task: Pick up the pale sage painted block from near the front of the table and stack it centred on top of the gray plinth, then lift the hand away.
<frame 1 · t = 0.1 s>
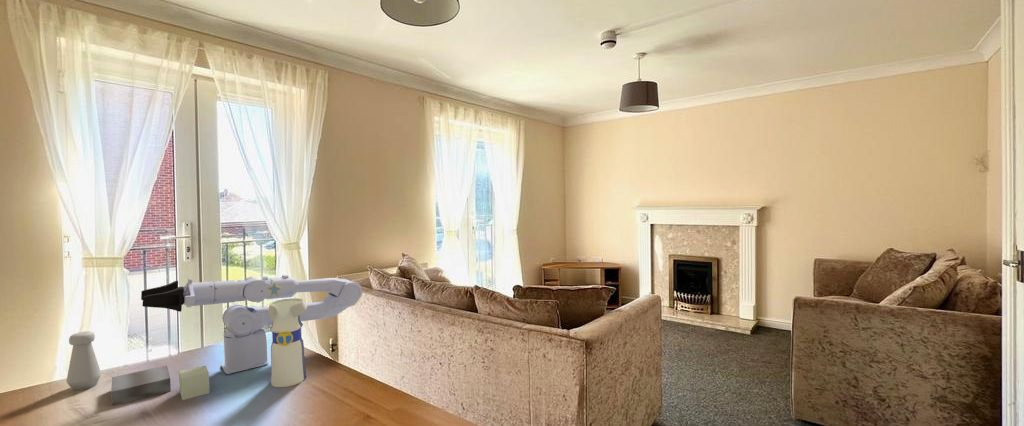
hand: (141, 298, 99), 22 cm above the table, tool horizontal, fingers open, 7 cm apart
salt shaker: (84, 387, 102), on the table
cream belted dress: (289, 380, 105), on the table
gray plinth: (141, 390, 100), on the table
sage block: (194, 393, 99), on the table
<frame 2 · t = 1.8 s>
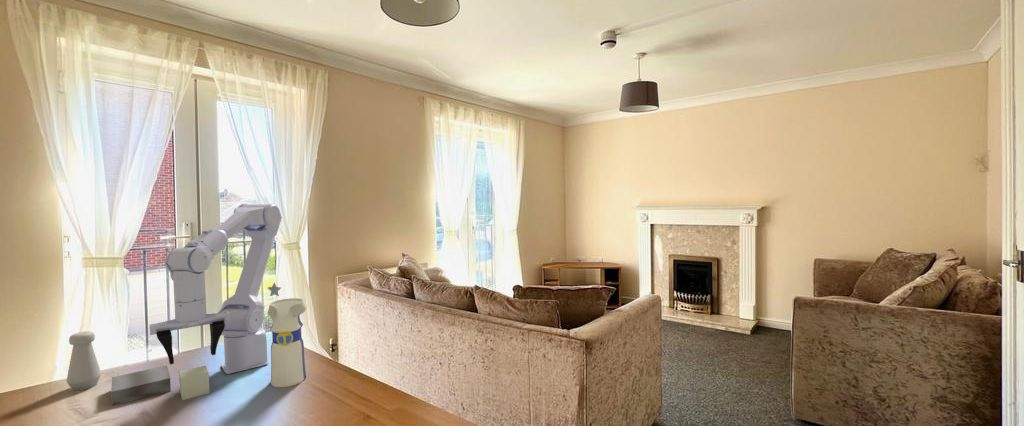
hand: (192, 358, 98), 8 cm above the table, tool pointing down, fingers open, 7 cm apart
nothing on the table moved.
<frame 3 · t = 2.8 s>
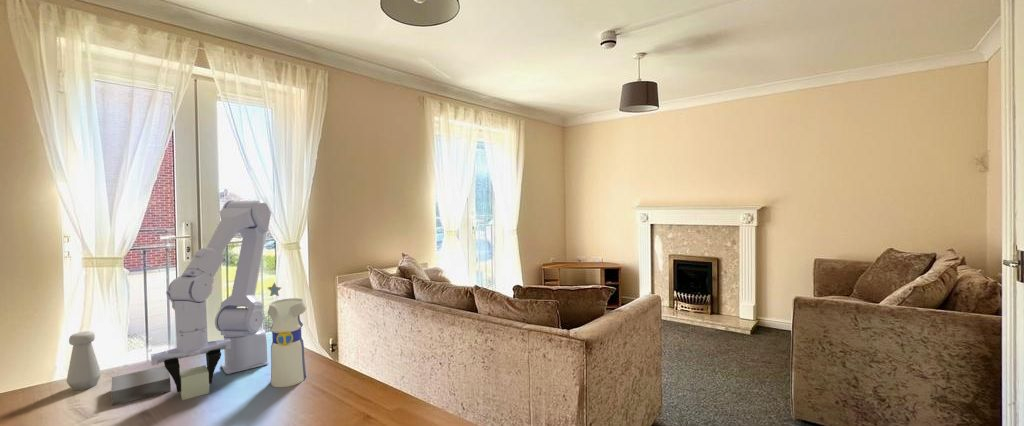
hand: (194, 386, 98), 1 cm above the table, tool pointing down, fingers closed on sage block, 5 cm apart
sage block: (194, 392, 98), on the table, touching gripper
everything else where it was.
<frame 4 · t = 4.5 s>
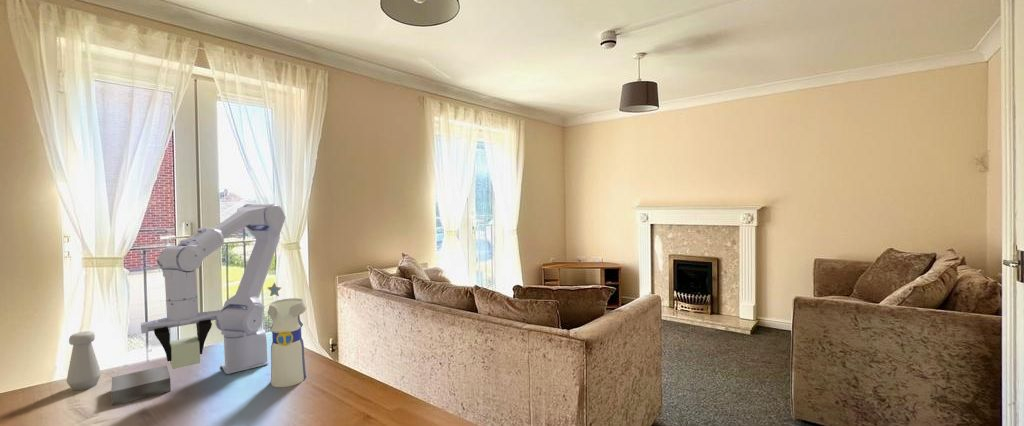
hand: (184, 356, 98), 8 cm above the table, tool pointing down, fingers closed on sage block, 5 cm apart
sage block: (185, 362, 98), point 7 cm above the table, touching gripper
everything else where it was.
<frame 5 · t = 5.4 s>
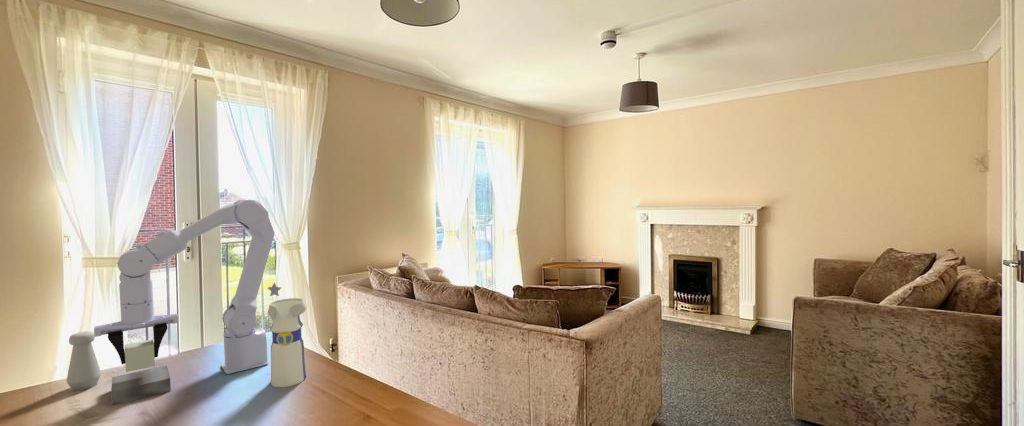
hand: (139, 359, 99), 7 cm above the table, tool pointing down, fingers closed on sage block, 5 cm apart
sage block: (140, 365, 99), point 6 cm above the table, touching gripper
everything else where it was.
when the fingers open (6 cm above the table, at t = 6.1 s): sage block drops 1 cm, resting on gray plinth.
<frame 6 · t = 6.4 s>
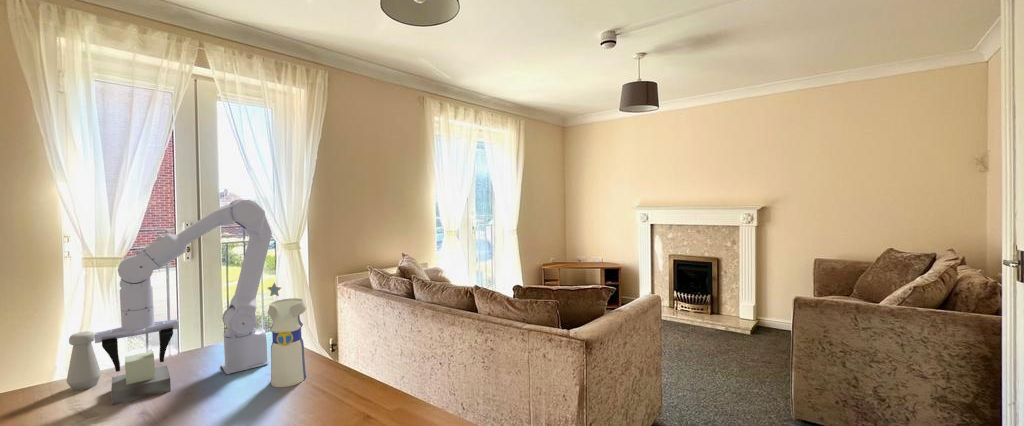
hand: (140, 365, 100), 6 cm above the table, tool pointing down, fingers open, 7 cm apart
sage block: (140, 377, 100), point 3 cm above the table, touching gray plinth
everything else where it was.
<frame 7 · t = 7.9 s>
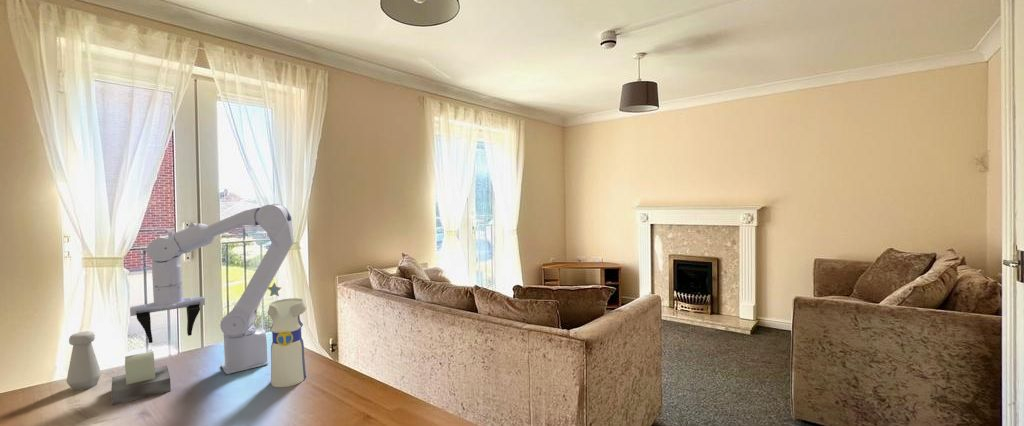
hand: (170, 338, 108), 9 cm above the table, tool pointing down, fingers open, 7 cm apart
nothing on the table moved.
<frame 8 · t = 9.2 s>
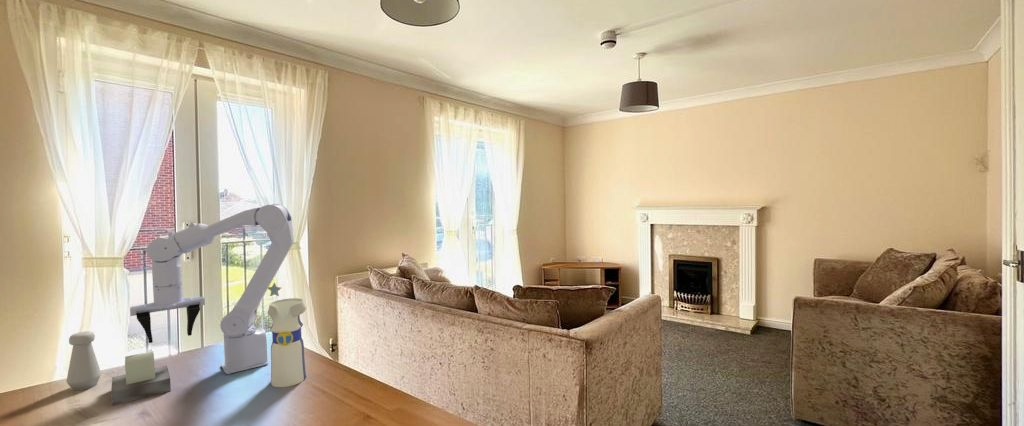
hand: (170, 338, 108), 9 cm above the table, tool pointing down, fingers open, 7 cm apart
nothing on the table moved.
at the end: sage block 0.1 cm off-centre on the gray plinth, point 3.0 cm above the gray plinth's base; sage block tilted 0°; the gripper is holding nothing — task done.
